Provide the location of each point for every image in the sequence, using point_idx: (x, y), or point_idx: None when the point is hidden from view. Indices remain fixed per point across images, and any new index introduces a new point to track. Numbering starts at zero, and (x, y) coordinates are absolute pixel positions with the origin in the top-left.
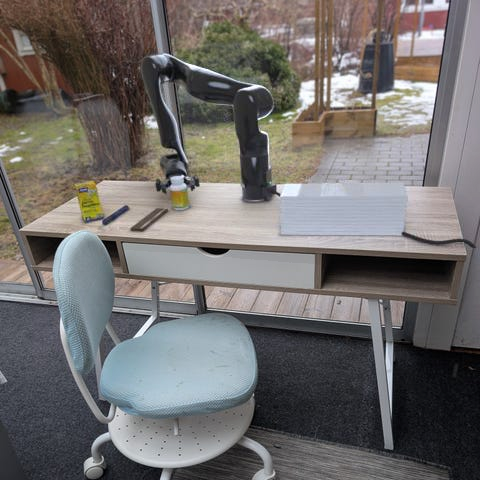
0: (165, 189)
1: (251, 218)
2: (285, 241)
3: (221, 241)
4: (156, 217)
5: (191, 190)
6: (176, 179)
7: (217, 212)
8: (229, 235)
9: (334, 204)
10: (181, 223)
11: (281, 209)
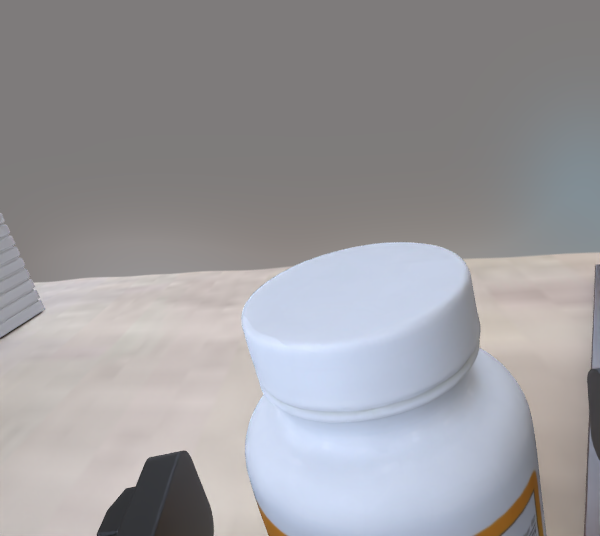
0: (595, 385)
1: (14, 402)
2: (65, 290)
3: (229, 272)
4: (592, 366)
5: (205, 516)
6: (352, 249)
7: (117, 481)
8: (188, 296)
9: None
10: None
11: (6, 230)
